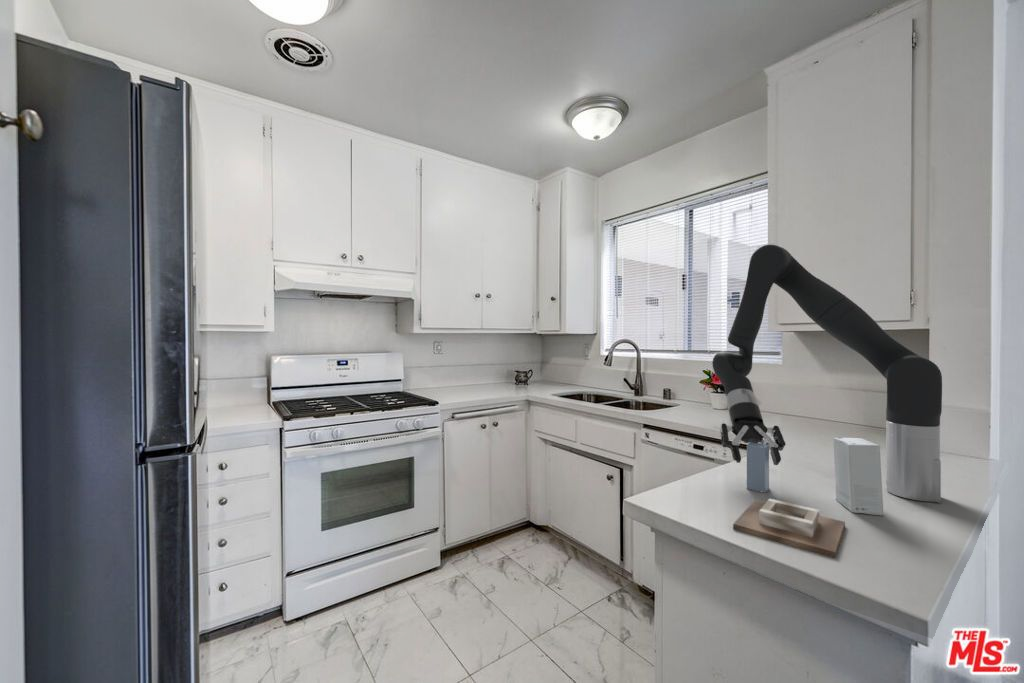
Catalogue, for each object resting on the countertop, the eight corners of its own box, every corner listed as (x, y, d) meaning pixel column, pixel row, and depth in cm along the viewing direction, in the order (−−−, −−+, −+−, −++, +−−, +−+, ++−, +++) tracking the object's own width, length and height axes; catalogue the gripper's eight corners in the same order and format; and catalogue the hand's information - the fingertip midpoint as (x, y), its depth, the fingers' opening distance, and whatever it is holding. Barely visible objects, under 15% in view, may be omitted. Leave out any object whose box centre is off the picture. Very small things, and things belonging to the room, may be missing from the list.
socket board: (844, 526, 82) (844, 509, 82) (835, 557, 71) (835, 537, 71) (754, 505, 93) (754, 489, 93) (733, 528, 82) (733, 511, 82)
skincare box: (884, 516, 87) (884, 446, 87) (849, 513, 89) (849, 444, 89) (863, 501, 95) (863, 437, 95) (832, 498, 97) (832, 435, 97)
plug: (769, 488, 104) (768, 444, 104) (765, 493, 101) (765, 448, 101) (751, 484, 106) (750, 442, 106) (746, 489, 103) (746, 445, 103)
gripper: (718, 400, 114) (729, 453, 102) (776, 401, 110) (794, 456, 99) (713, 415, 119) (724, 467, 108) (768, 417, 115) (785, 471, 104)
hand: (757, 462), depth 103 cm, fingers open, 8 cm apart
